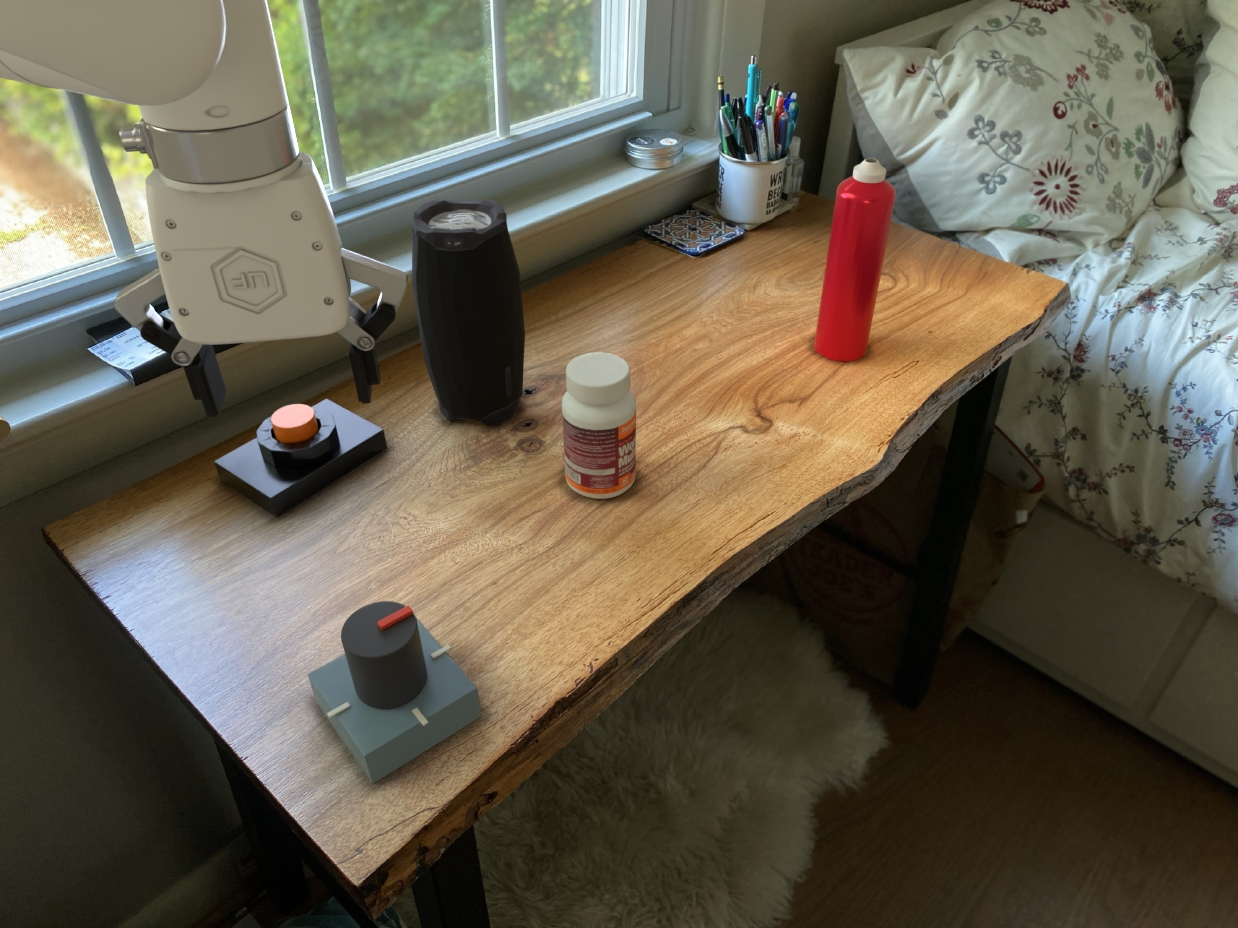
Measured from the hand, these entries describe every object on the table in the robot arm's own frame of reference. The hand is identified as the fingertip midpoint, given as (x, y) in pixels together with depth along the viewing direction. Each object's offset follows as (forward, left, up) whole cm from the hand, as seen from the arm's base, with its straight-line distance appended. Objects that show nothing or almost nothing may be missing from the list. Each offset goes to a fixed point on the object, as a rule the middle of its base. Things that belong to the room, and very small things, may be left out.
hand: (292, 398), depth 62 cm
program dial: (-3, -14, -13) cm, 20 cm away
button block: (+4, +14, -16) cm, 22 cm away
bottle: (+56, -3, -16) cm, 58 cm away
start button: (+4, +14, -13) cm, 19 cm away
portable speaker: (+21, +12, -16) cm, 29 cm away
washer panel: (-3, -14, -16) cm, 22 cm away
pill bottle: (+23, -4, -16) cm, 28 cm away
